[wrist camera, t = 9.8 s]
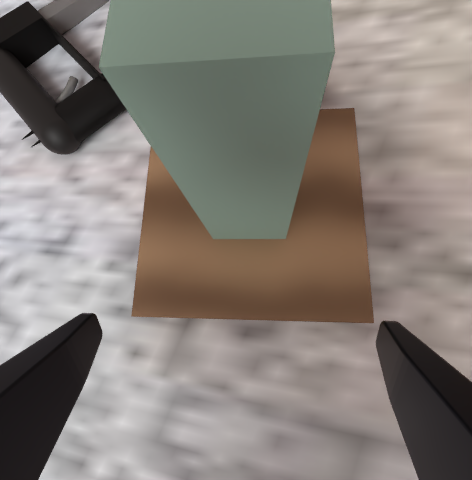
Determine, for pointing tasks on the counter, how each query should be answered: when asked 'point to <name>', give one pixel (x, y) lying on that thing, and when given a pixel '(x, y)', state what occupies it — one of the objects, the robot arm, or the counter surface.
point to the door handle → (33, 94)
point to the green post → (225, 99)
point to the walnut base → (263, 247)
